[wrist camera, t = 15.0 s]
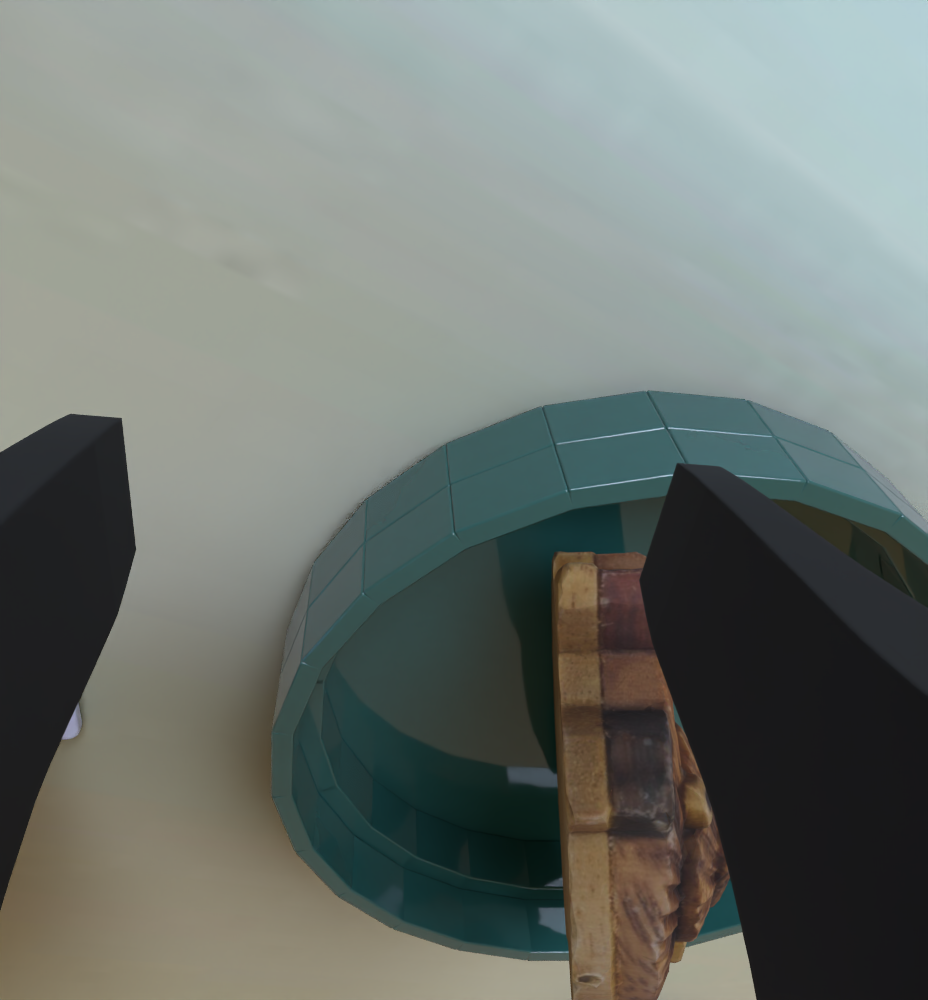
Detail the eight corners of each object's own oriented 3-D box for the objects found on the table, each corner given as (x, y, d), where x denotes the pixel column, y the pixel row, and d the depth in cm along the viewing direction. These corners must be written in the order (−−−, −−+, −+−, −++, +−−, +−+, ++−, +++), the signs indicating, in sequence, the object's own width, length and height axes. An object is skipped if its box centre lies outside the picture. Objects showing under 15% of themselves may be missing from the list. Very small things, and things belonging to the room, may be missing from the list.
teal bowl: (284, 843, 32) (269, 962, 28) (294, 348, 21) (272, 438, 17) (786, 851, 35) (832, 960, 31) (1041, 418, 23) (1162, 508, 20)
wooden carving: (661, 804, 32) (756, 1111, 23) (543, 823, 32) (595, 1134, 23) (642, 436, 22) (788, 731, 14) (475, 467, 22) (521, 775, 14)
